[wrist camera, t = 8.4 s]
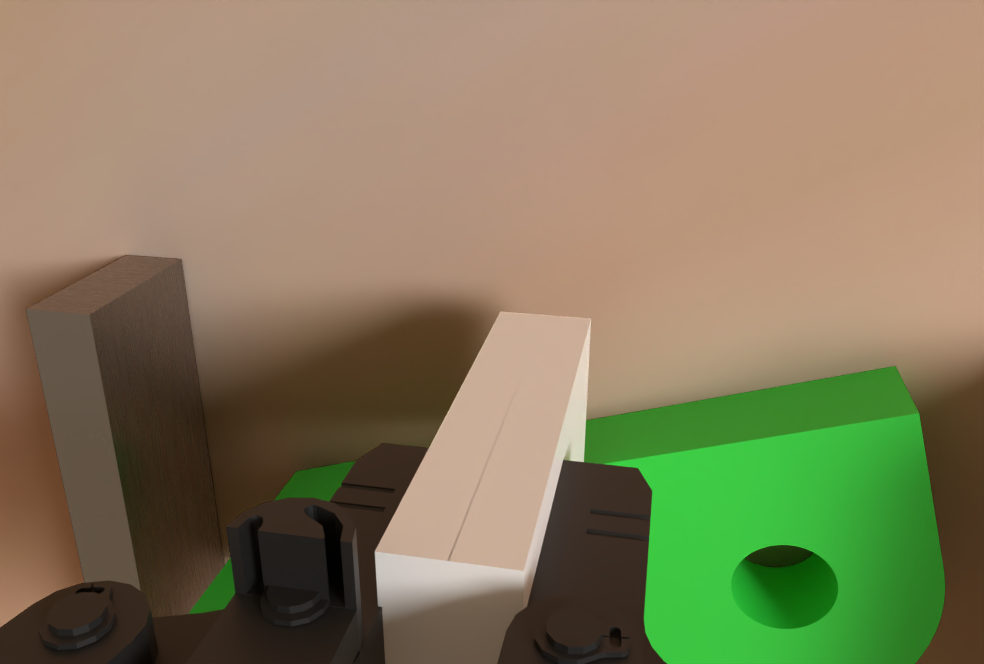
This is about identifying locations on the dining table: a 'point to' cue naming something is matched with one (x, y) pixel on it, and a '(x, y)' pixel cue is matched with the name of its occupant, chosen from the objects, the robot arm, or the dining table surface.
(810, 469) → the mechanical part
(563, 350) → the robot arm
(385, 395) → the dining table surface
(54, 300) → the knobbed latch bracket
